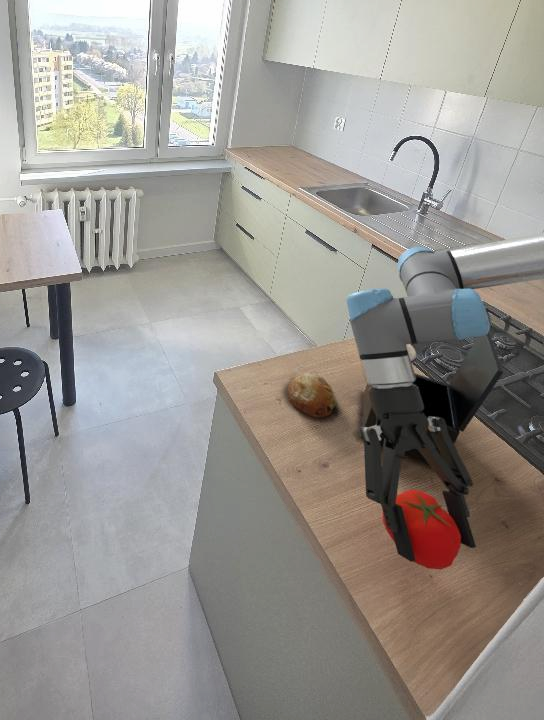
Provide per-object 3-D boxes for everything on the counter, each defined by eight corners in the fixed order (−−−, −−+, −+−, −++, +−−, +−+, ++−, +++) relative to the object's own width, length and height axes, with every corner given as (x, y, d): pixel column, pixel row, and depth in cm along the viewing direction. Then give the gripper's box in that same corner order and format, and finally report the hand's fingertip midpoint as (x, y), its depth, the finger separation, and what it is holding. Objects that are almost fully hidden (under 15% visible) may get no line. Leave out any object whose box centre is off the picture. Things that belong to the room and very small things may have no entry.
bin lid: (498, 370, 70) (503, 372, 70) (483, 326, 81) (488, 328, 80) (458, 430, 77) (463, 432, 77) (449, 382, 87) (453, 384, 87)
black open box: (360, 439, 87) (373, 401, 83) (362, 396, 98) (375, 360, 93) (440, 472, 82) (459, 432, 77) (434, 422, 92) (451, 385, 87)
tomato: (459, 590, 60) (480, 556, 56) (382, 564, 62) (397, 531, 59) (439, 522, 68) (456, 489, 65) (371, 502, 70) (384, 469, 67)
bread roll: (309, 392, 103) (302, 362, 102) (347, 406, 94) (341, 372, 94) (283, 412, 97) (276, 379, 97) (321, 428, 89) (314, 392, 88)
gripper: (432, 376, 74) (478, 528, 66) (318, 392, 70) (354, 554, 62) (467, 377, 67) (523, 546, 59) (343, 394, 63) (386, 577, 55)
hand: (436, 550), depth 61 cm, fingers closed on tomato, 9 cm apart
